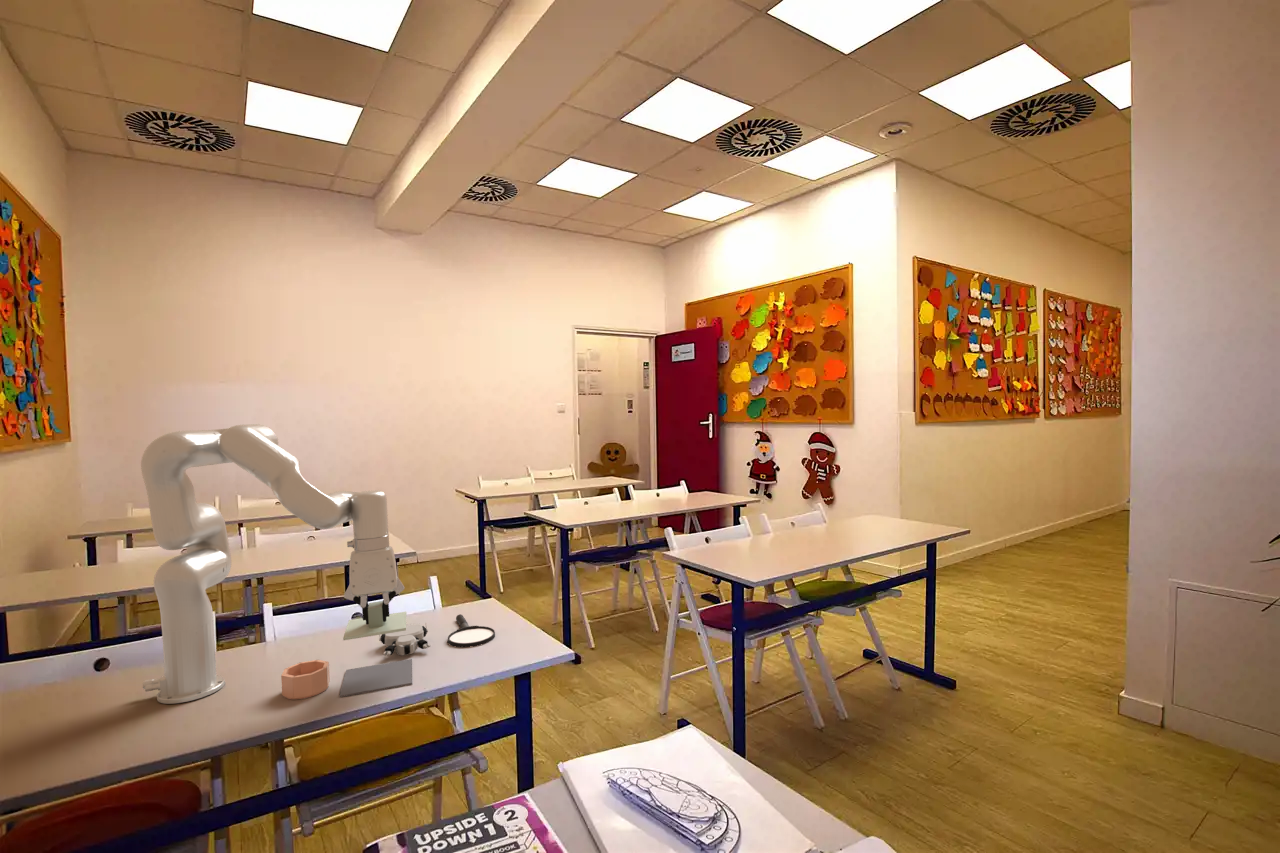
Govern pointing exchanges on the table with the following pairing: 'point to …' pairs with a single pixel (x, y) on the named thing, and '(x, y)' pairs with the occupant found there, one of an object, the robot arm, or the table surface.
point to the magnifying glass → (470, 634)
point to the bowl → (305, 679)
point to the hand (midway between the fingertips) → (376, 620)
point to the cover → (375, 623)
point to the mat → (377, 677)
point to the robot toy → (405, 640)
